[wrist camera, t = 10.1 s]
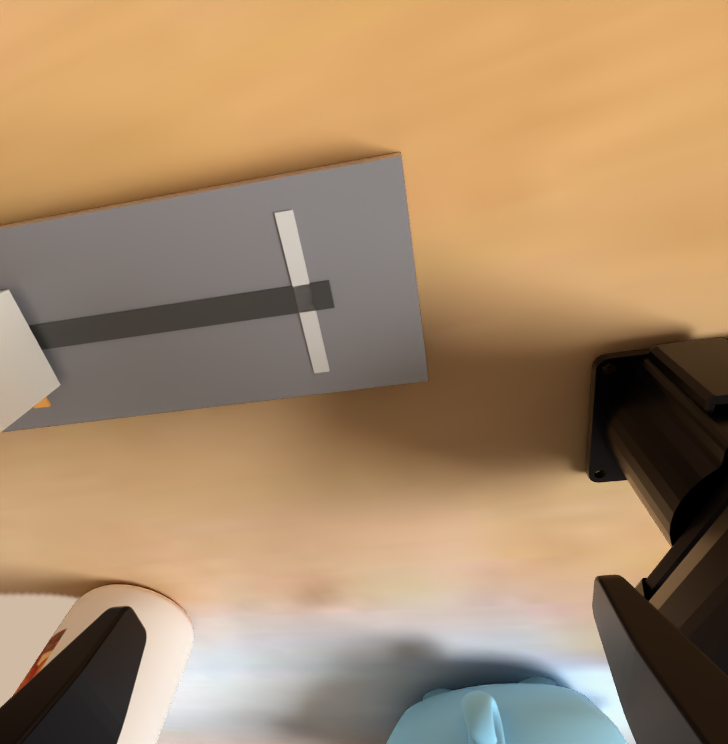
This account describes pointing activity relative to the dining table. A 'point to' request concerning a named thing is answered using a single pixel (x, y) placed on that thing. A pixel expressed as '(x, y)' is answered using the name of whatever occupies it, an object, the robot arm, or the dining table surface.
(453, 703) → the decorative pot
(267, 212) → the console
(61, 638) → the milk bottle
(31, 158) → the dining table surface
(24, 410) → the fader cap
